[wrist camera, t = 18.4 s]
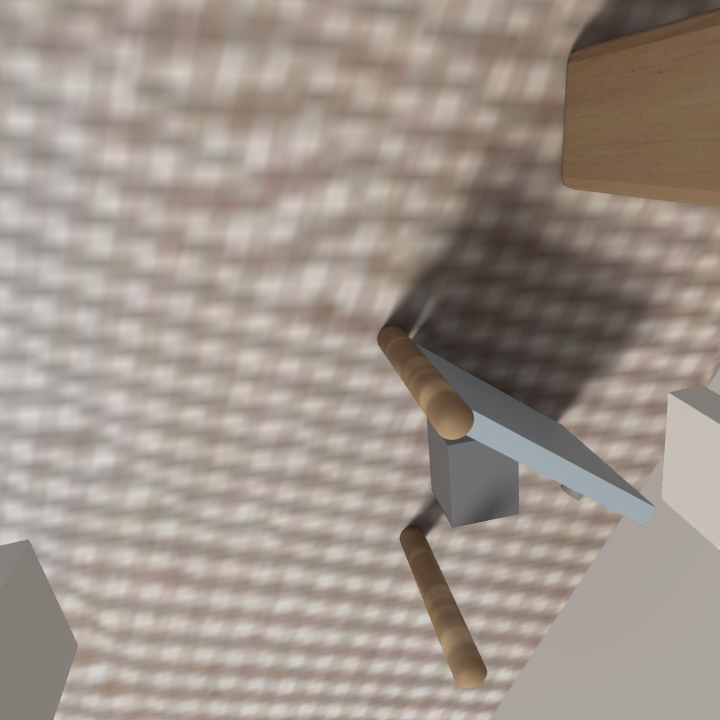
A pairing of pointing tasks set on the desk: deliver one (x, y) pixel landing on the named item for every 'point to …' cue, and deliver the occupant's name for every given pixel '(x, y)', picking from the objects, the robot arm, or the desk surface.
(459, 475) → the block
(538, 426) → the door
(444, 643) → the door frame
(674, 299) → the desk surface
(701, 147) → the wooden block
